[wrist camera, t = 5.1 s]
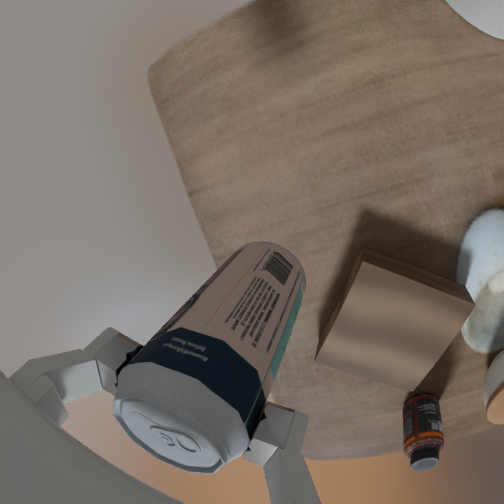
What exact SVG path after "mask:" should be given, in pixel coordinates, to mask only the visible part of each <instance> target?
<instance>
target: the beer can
mask: <svg viewBox="0 0 504 504" xmlns="http://www.w3.org/2000/svg"><path fill="white" fill-rule="evenodd" d="M305 289H306V279H305V274H304V270H303V268H302V266H301V264H300V262H299V261H298V259H297V258H296V257H295V256H294V255H293V254H292V253H291V252H290V251H288V250H287V249H285V248H284V247H282V246H280V245H277V244H274V243H271V242H253V243H249V244H247V245H244V246H242V247H241V248H240V249H238V250H237V251H236V252H235V253H234V254H233V255H232V256H231V257H230V258H229V259H228V260H227V261H226V262H225V263H224V264H223V265H222V266H221V267H220V268H219V269H218V270H217V271H216V272H215V273H214V274H213V275H212V276H211V277H210V278H209V279H208V280H207V281H206V282H205V283H204V284H203V285H202V286H201V287H200V289H199V290H198V291H197V292H196V293H195V294H194V295H193V296H192V297H191V298H190V299H189V300H188V301H187V302H186V303H185V304H184V305H183V306H182V307H181V308H180V309H179V310H178V311H177V312H176V313H175V315H173V317H171V319H170V320H169V321H168V322H167V323H166V324H165V325H164V326H163V327H162V328H161V329H160V330H159V331H158V332H157V333H156V334H155V335H154V336H153V337H152V338H151V339H150V341H148V343H147V344H146V345H145V346H144V347H143V348H142V349H141V350H140V351H139V352H138V353H137V354H136V355H135V356H134V357H133V358H132V359H131V360H130V361H129V362H128V364H127V365H126V366H125V367H124V368H123V369H122V370H121V372H120V373H119V375H118V388H117V392H116V395H115V398H114V404H113V416H114V418H115V419H116V420H117V422H118V423H119V425H120V426H121V428H122V429H123V430H124V431H125V433H126V434H127V436H128V437H129V438H130V439H131V440H132V441H134V442H135V443H136V444H138V445H139V446H140V447H141V448H143V449H144V450H145V451H147V452H148V453H149V454H151V455H152V456H153V457H155V458H156V459H158V460H160V461H163V462H165V463H167V464H169V465H172V466H174V467H176V468H179V469H181V470H183V471H186V472H193V473H203V474H214V473H216V472H217V471H218V470H220V469H222V468H223V467H224V466H225V465H226V464H227V463H228V462H230V461H231V460H233V459H236V458H238V457H239V456H240V455H242V454H243V453H244V452H245V451H246V450H247V448H248V445H249V443H250V441H251V438H252V436H253V434H254V431H255V429H256V426H257V424H258V421H259V419H260V416H261V414H262V411H263V409H264V406H265V403H266V401H267V398H268V395H269V393H270V390H271V388H272V385H273V382H274V380H275V377H276V374H277V371H278V369H279V366H280V363H281V360H282V358H283V355H284V352H285V349H286V346H287V343H288V341H289V338H290V335H291V332H292V329H293V326H294V323H295V320H296V317H297V314H298V311H299V308H300V305H301V302H302V299H303V296H304V293H305Z"/></svg>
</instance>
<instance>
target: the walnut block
mask: <svg viewBox="0 0 504 504" xmlns="http://www.w3.org/2000/svg"><path fill="white" fill-rule="evenodd" d="M474 307H475V303H474V301H473V300H472V298H471V296H470V294H469V292H468V290H467V289H466V287H465V286H462V285H460V284H458V283H455V282H453V281H450V280H448V279H446V278H443V277H441V276H438V275H436V274H433V273H431V272H429V271H426V270H424V269H421V268H419V267H416V266H414V265H411V264H409V263H406V262H403V261H401V260H398V259H396V258H393V257H391V256H388V255H385V254H383V253H380V252H378V251H375V250H372V249H370V248H367V247H364V246H362V247H361V250H360V252H359V255H358V257H357V259H356V262H355V264H354V266H353V269H352V271H351V273H350V276H349V278H348V280H347V282H346V285H345V287H344V289H343V291H342V293H341V296H340V298H339V300H338V302H337V304H336V306H335V309H334V311H333V313H332V315H331V317H330V319H329V321H328V323H327V325H326V327H325V329H324V331H323V333H322V335H321V337H320V339H319V342H318V347H317V351H316V355H315V360H314V362H317V363H320V364H323V365H326V366H329V367H332V368H335V369H338V370H341V371H344V372H347V373H351V374H354V375H357V376H360V377H364V378H367V379H370V380H374V381H377V382H380V383H384V384H387V385H391V386H394V387H398V388H402V389H405V390H409V391H414V389H415V388H416V387H417V386H418V385H419V383H420V382H421V381H422V380H423V379H424V377H425V376H426V375H427V374H428V372H429V371H430V370H431V369H432V367H433V366H434V365H435V363H436V362H437V361H438V360H439V358H440V357H441V356H442V354H443V353H444V351H445V350H446V349H447V347H448V346H449V345H450V343H451V342H452V340H453V339H454V337H455V336H456V335H457V333H458V332H459V330H460V329H461V327H462V326H463V324H464V323H465V321H466V319H467V318H468V316H469V315H470V313H471V312H472V310H473V308H474Z"/></svg>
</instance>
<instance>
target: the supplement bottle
mask: <svg viewBox="0 0 504 504" xmlns="http://www.w3.org/2000/svg"><path fill="white" fill-rule="evenodd" d="M403 430H404V454H405V456H406V457H407V458H409V459H411V461H410V462H411V469H413V470H415V471H423V470H427V469H430V468H432V467H434V466H436V464H438V462H439V452H440V451H441V449H442V448H443V446H444V437H443V428H442V421H441V413H440V406H439V401H438V399H437V397H435V396H433V395H431V394H422V395H418V396H415V397H413V398H411V399H410V400H409V401H407V402H406V404H405V405H404V407H403Z"/></svg>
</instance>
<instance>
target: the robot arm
mask: <svg viewBox="0 0 504 504" xmlns="http://www.w3.org/2000/svg"><path fill="white" fill-rule="evenodd" d="M445 1H446V2H447V3H448V4H449V5H450V6H451V7H452V8H453V9H454V10H455V11H456V12H457V13H458V14H459V15H461V16H462V17H463V18H464V19H465V20H467V21H468V22H469V23H471V24H472V25H473V26H475V27H477V28H478V29H480V30H481V31H483V32H485V33H487V34H489V35H491V36H494V37H496V38H499V39H503V40H504V0H445ZM143 347H144V346H143V345H141V344H139V343H137V342H136V341H133V340H132V339H130V338H129V337H127V336H125V335H123V334H122V333H120V332H118V331H117V330H115V329H113V328H112V327H110V328H107V329H106V330H104V331H103V332H102V333H101V334H100V335H99V336H98V337H97V338H96V339H95V340H94V341H92V342H91V343H90V344H89V345H88V346H87V347H86V348H85V349H84V350H83V351H82V350H81V349H78V350H73V351H69V352H64V353H60V354H55V355H50V356H46V357H41V358H36V359H31V360H29V361H28V362H26V363H25V364H24V365H23V366H22V367H21V368H20V369H18V370H17V371H16V372H15V373H14V374H13V375H12V376H11V377H10V378H7V377H6V376H5V375H4V374H3V373H2V372H1V371H0V504H185V503H183V502H181V501H179V500H177V499H175V498H172V497H170V496H168V495H166V494H164V493H162V492H160V491H158V490H156V489H154V488H153V487H151V486H149V485H147V484H145V483H143V482H141V481H140V480H138V479H136V478H134V477H133V476H131V475H129V474H127V473H126V472H124V471H122V470H121V469H119V468H118V467H116V466H114V465H113V464H111V463H109V462H108V461H106V460H105V459H104V458H102V457H101V456H99V455H98V454H96V453H95V452H93V451H92V450H90V449H89V448H88V447H86V446H85V445H83V444H82V443H80V442H79V441H78V440H77V439H75V438H74V437H73V436H71V435H70V434H69V433H67V432H66V431H65V430H64V429H62V428H61V427H60V426H61V425H62V424H63V423H64V421H65V420H66V419H67V418H68V413H67V411H66V409H65V407H64V405H63V404H65V403H68V402H71V401H73V400H76V399H79V398H82V397H84V396H87V395H90V394H92V393H95V392H98V391H100V390H102V388H103V389H104V390H106V391H108V392H109V393H111V394H112V395H116V392H117V388H118V375H119V373H120V372H121V370H122V369H123V368H124V367H125V366H126V365H127V364H128V362H129V361H130V360H131V359H132V358H133V357H134V356H135V355H136V354H137V353H138V352H139V351H140V350H141V349H142V348H143ZM307 422H308V415H307V414H304V413H301V412H297V411H294V410H293V409H290V408H286V407H283V406H280V405H277V404H275V403H271V402H267V403H266V405H265V407H264V409H263V412H262V414H261V416H260V419H259V421H258V424H257V426H256V429H255V431H254V434H253V436H252V438H251V441H250V443H249V445H248V448H247V450H246V451H245V452H244V454H243V456H242V459H245V460H247V461H250V462H252V463H255V464H258V465H260V466H263V467H264V473H265V477H266V482H267V486H268V490H269V494H270V499H271V503H272V504H321V501H320V499H319V496H318V494H317V491H316V489H315V486H314V484H313V481H312V478H311V475H310V473H309V470H308V467H307V465H306V462H305V460H304V457H303V455H300V454H299V452H300V449H301V445H302V441H303V438H304V434H305V430H306V426H307Z"/></svg>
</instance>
